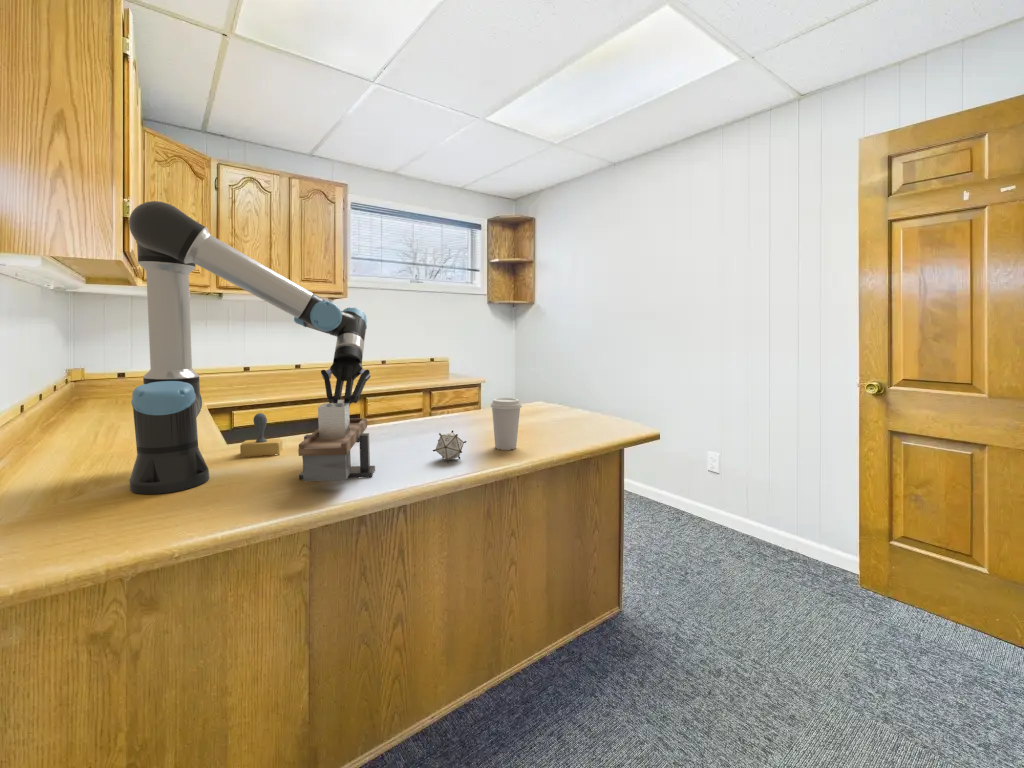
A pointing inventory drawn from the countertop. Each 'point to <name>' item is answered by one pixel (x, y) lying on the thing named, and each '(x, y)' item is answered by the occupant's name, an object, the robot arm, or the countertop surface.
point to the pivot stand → (364, 467)
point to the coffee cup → (505, 422)
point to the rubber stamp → (260, 441)
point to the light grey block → (333, 420)
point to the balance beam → (329, 454)
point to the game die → (449, 446)
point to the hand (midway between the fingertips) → (338, 423)
